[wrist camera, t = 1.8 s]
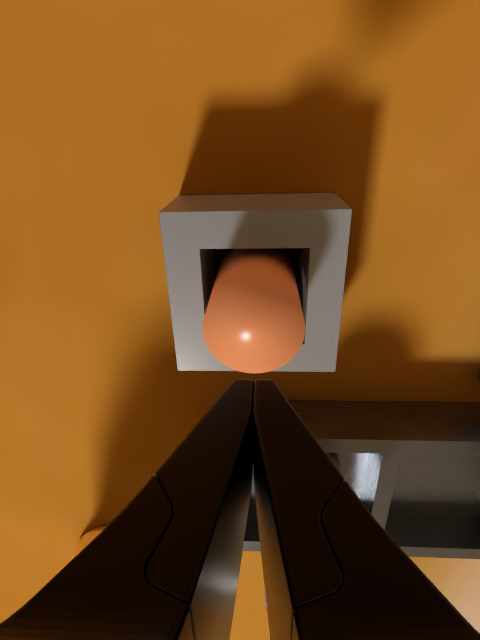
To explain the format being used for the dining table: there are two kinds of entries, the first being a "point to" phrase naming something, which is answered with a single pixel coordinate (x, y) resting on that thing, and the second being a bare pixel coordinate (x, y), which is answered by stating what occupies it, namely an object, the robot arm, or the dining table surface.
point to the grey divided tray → (403, 470)
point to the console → (246, 233)
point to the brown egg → (254, 311)
